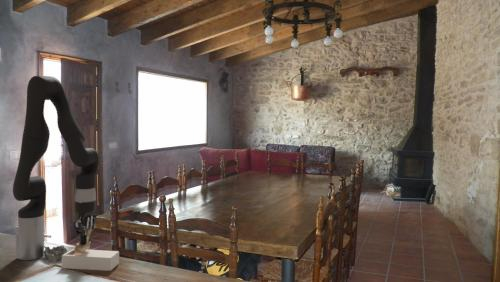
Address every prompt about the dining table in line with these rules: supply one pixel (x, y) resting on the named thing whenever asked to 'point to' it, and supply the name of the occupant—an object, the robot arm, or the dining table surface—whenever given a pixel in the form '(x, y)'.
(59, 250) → the grey green rough clump
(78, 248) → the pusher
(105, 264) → the sweep board
